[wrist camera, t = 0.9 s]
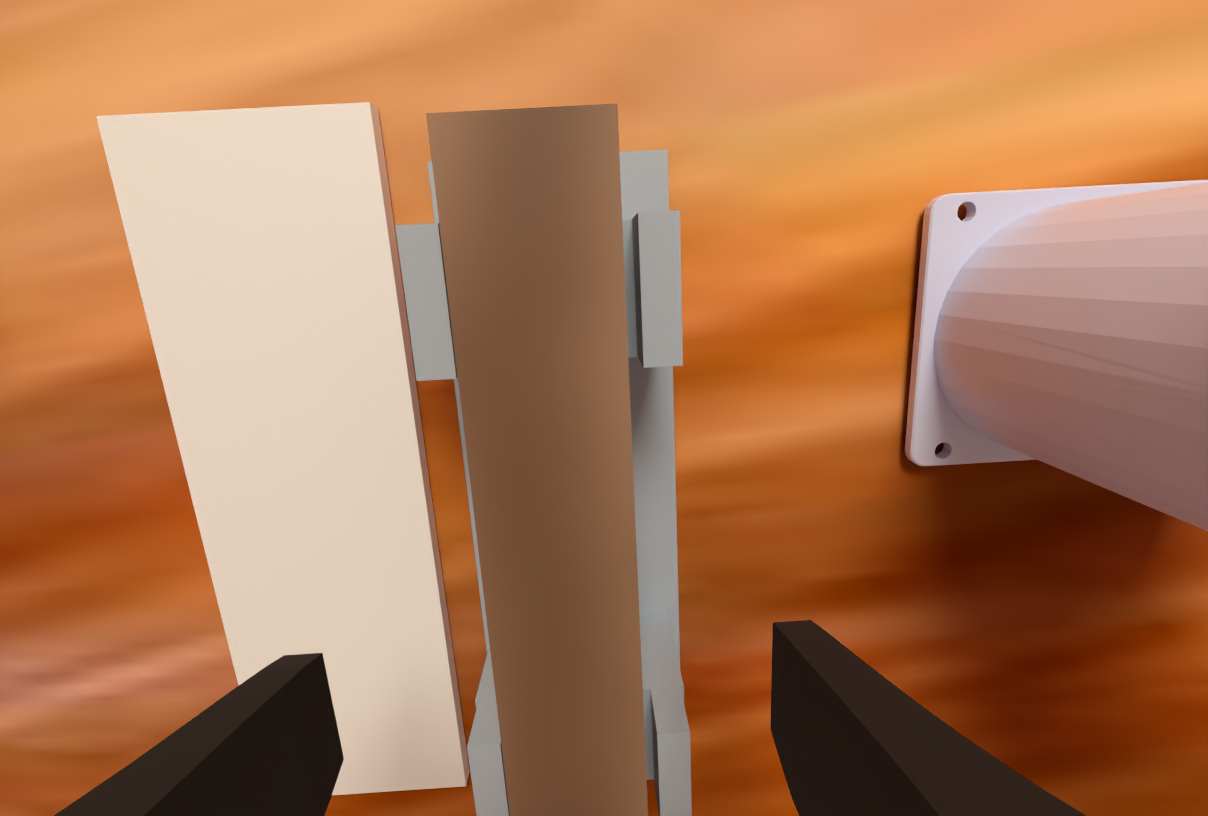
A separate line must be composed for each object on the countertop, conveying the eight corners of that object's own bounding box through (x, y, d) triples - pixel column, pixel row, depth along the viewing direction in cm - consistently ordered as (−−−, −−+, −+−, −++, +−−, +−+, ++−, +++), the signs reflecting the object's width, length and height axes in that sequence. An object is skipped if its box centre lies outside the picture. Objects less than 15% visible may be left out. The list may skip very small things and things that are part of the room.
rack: (664, 153, 15) (705, 92, 10) (678, 722, 20) (712, 887, 15) (433, 165, 15) (351, 110, 10) (501, 735, 20) (469, 904, 15)
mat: (378, 108, 15) (369, 101, 14) (469, 771, 20) (465, 786, 20) (115, 122, 15) (96, 116, 14) (276, 784, 20) (267, 799, 20)
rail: (609, 144, 12) (617, 103, 9) (641, 822, 16) (653, 944, 13) (466, 152, 12) (426, 113, 9) (537, 829, 16) (526, 953, 13)
